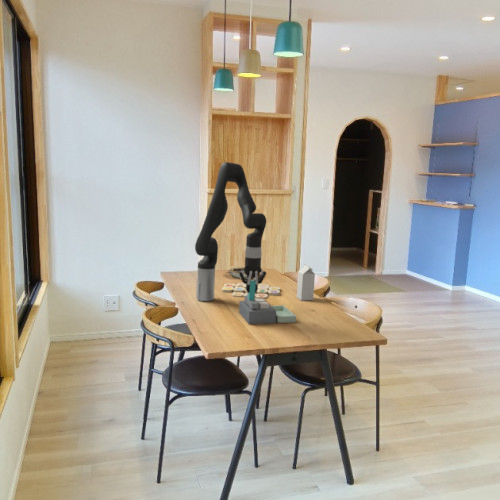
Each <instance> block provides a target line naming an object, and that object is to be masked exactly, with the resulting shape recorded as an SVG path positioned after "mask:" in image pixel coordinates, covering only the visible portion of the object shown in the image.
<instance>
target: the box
mask: <svg viewBox="0 0 500 500" xmlns="http://www.w3.org/2000/svg"><path fill="white" fill-rule="evenodd" d="M271 306H272V307H273V308H274V309H275V310H276V323H277V324H283V323H284V324H285V323H287V324H288V323H296V322H297V315H296V314H294V313H293V312H292V311H291V310H290V309H289V308H287V307H286V306H285V305H284V304H282V305H271Z"/></svg>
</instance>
